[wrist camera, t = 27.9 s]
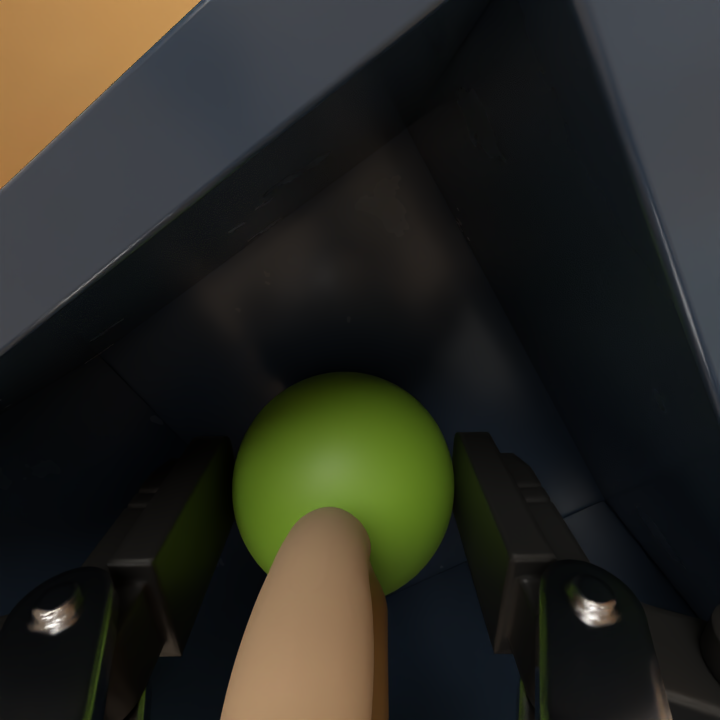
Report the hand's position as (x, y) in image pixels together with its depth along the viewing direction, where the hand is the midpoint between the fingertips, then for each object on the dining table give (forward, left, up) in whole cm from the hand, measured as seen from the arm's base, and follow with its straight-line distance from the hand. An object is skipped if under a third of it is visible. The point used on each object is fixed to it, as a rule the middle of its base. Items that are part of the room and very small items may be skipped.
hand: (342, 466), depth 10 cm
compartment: (+1, +1, -4) cm, 5 cm away
